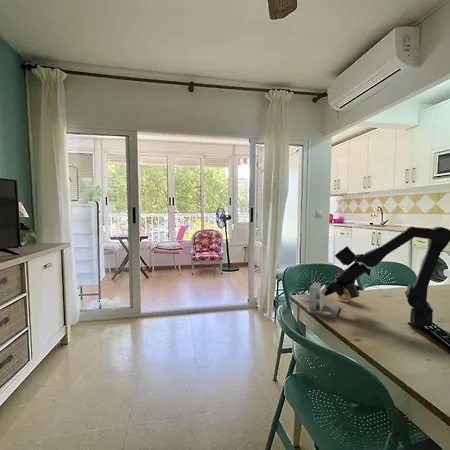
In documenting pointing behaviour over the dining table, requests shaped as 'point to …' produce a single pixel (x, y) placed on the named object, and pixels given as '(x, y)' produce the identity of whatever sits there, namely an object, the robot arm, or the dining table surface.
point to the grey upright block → (321, 297)
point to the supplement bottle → (344, 296)
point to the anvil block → (314, 296)
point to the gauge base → (326, 310)
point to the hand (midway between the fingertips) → (324, 295)
